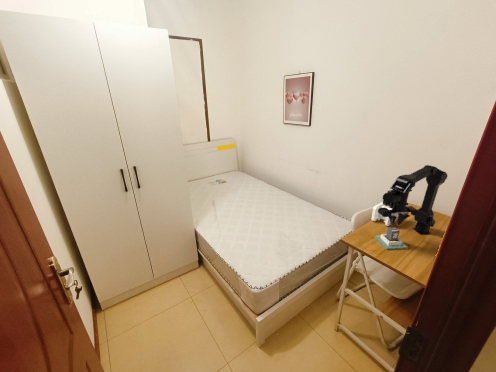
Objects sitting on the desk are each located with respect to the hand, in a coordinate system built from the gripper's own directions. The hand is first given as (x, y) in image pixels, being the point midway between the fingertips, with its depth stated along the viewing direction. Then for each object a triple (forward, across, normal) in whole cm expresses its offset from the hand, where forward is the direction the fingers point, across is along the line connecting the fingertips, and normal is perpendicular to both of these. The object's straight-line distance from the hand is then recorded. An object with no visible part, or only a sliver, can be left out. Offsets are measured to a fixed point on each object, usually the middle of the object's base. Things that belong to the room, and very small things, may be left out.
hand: (394, 224), depth 122 cm
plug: (+11, 0, 0) cm, 11 cm away
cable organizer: (+12, -10, -23) cm, 28 cm away
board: (+12, 0, 0) cm, 12 cm away
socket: (+12, 0, 0) cm, 12 cm away
